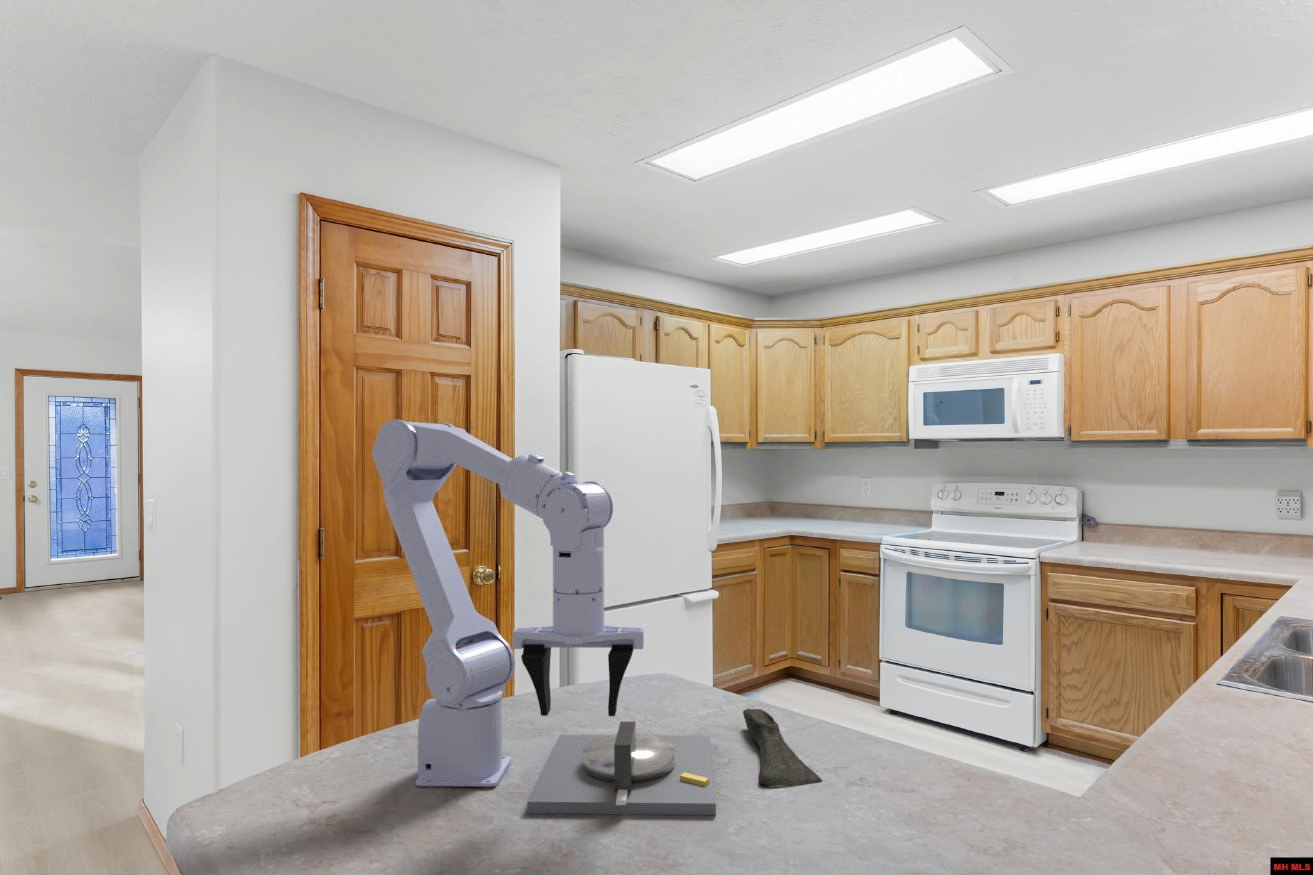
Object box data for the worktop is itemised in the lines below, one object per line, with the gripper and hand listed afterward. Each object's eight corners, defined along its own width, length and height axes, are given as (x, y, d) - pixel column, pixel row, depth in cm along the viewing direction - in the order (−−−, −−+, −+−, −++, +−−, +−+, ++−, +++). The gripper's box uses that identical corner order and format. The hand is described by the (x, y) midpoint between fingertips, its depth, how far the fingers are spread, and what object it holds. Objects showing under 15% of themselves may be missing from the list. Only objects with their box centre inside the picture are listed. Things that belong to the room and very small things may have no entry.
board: (526, 815, 79) (526, 799, 79) (559, 743, 99) (559, 730, 99) (716, 817, 78) (715, 801, 78) (710, 744, 99) (710, 731, 99)
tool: (825, 798, 86) (827, 772, 86) (760, 797, 85) (763, 771, 85) (773, 720, 107) (775, 699, 107) (721, 718, 106) (723, 697, 106)
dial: (588, 745, 95) (588, 705, 95) (675, 745, 94) (675, 705, 95) (572, 790, 81) (572, 744, 82) (673, 791, 81) (672, 745, 81)
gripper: (505, 596, 80) (505, 724, 79) (640, 596, 79) (641, 725, 79) (520, 586, 87) (520, 703, 86) (644, 585, 86) (645, 704, 86)
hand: (579, 713), depth 83 cm, fingers open, 7 cm apart
